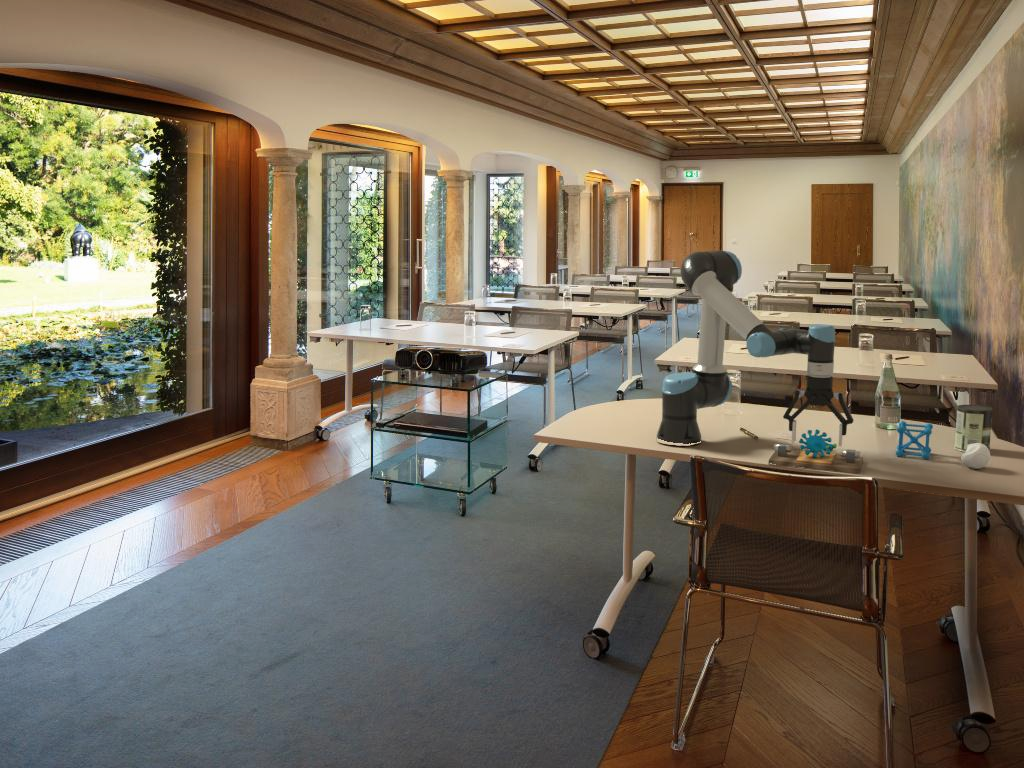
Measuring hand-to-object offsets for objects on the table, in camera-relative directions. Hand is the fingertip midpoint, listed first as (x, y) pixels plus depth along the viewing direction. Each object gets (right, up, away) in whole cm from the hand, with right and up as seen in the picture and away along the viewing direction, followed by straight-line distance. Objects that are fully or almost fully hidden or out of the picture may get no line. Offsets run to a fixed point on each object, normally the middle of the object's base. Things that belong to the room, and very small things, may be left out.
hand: (816, 443), depth 265 cm
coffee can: (+55, -3, +14) cm, 57 cm away
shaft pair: (0, -5, +1) cm, 5 cm away
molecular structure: (+34, -5, +9) cm, 35 cm away
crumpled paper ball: (+45, -7, -7) cm, 46 cm away
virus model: (+1, -4, +2) cm, 5 cm away
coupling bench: (0, -6, +1) cm, 6 cm away
